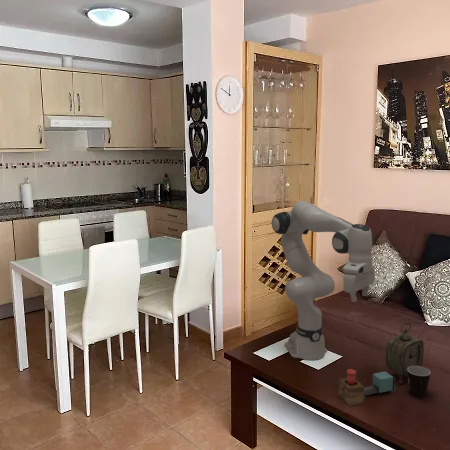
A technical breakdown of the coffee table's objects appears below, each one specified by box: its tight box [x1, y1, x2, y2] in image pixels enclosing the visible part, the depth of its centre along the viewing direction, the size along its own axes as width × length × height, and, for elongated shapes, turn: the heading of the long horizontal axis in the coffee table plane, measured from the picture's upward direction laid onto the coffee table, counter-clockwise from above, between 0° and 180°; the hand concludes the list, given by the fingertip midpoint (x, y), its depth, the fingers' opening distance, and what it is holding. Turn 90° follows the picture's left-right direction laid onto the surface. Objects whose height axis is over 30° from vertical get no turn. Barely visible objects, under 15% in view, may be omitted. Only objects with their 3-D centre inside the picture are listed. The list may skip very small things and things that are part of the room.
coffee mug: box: [407, 366, 431, 399], centre depth 185 cm, size 12×9×10 cm
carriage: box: [372, 371, 394, 394], centre depth 189 cm, size 5×6×6 cm
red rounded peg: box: [346, 368, 357, 386], centre depth 183 cm, size 4×4×6 cm
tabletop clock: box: [385, 322, 425, 384], centre depth 199 cm, size 14×9×25 cm, turn 123°
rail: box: [363, 374, 397, 400], centre depth 188 cm, size 4×17×6 cm, turn 109°
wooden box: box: [338, 377, 365, 407], centre depth 184 cm, size 8×6×7 cm
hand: (359, 298), depth 187 cm, fingers open, 8 cm apart
